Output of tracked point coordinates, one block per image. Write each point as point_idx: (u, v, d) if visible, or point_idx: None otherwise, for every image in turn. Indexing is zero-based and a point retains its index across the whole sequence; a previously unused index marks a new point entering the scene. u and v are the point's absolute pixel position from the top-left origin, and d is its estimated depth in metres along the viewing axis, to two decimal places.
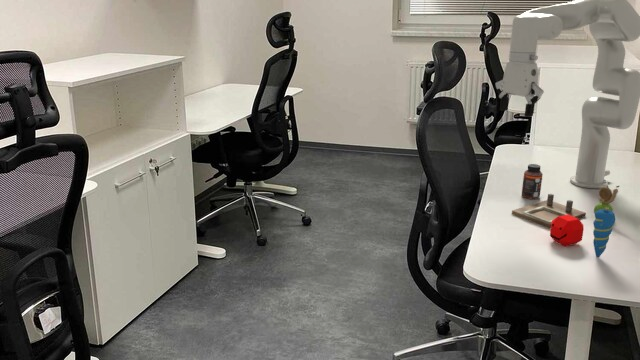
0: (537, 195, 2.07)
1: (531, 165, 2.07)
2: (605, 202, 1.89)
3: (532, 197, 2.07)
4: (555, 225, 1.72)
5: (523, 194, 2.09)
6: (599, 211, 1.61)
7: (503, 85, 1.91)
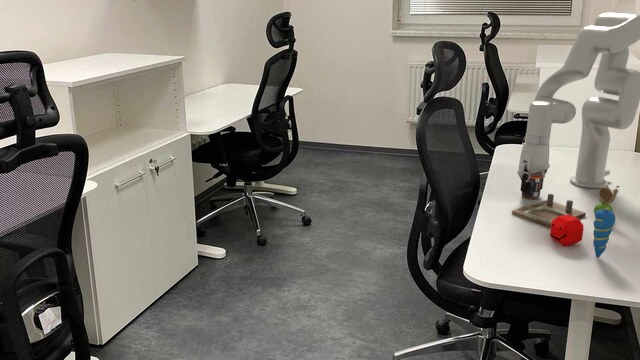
0: (537, 195, 2.07)
1: None
2: (605, 202, 1.89)
3: (532, 197, 2.07)
4: (555, 225, 1.72)
5: (523, 194, 2.09)
6: (599, 211, 1.61)
7: (531, 168, 2.03)
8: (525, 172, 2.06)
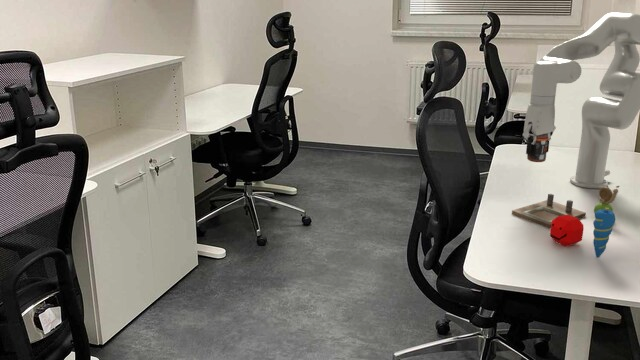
0: (543, 158, 2.04)
1: None
2: (605, 202, 1.89)
3: (538, 160, 2.03)
4: (555, 225, 1.72)
5: (529, 157, 2.05)
6: (599, 211, 1.61)
7: (536, 129, 1.99)
8: (530, 134, 2.02)
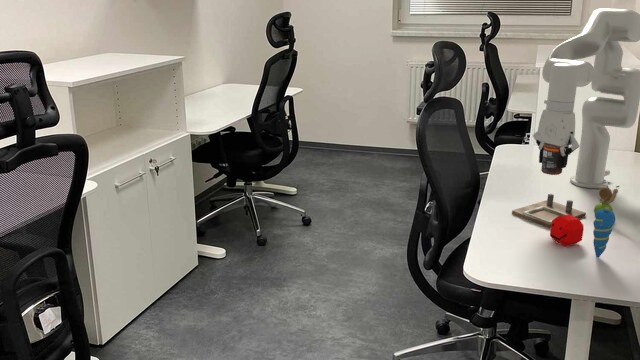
0: None
1: None
2: (605, 202, 1.89)
3: None
4: (555, 225, 1.72)
5: (557, 171, 1.84)
6: (599, 211, 1.61)
7: None
8: (565, 145, 1.81)
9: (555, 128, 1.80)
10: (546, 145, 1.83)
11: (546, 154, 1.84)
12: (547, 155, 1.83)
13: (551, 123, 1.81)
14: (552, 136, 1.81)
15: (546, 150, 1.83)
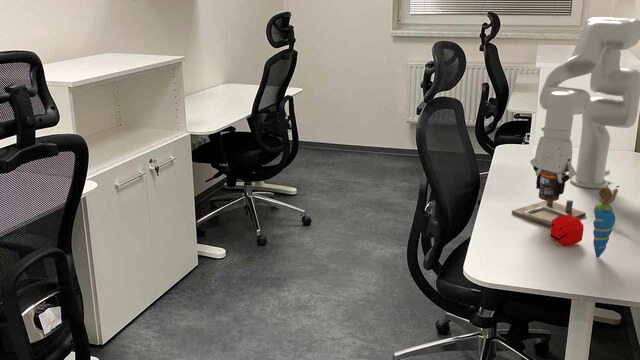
0: None
1: None
2: (605, 202, 1.89)
3: None
4: (555, 225, 1.72)
5: (555, 197, 1.86)
6: (599, 211, 1.61)
7: None
8: (562, 172, 1.83)
9: (552, 156, 1.82)
10: (543, 172, 1.85)
11: (543, 180, 1.85)
12: (544, 182, 1.85)
13: (548, 151, 1.82)
14: (549, 163, 1.83)
15: (543, 177, 1.85)
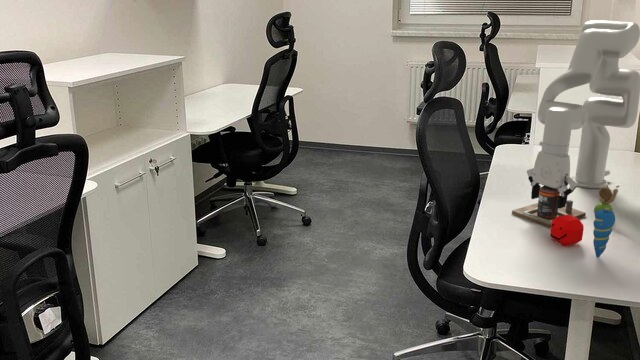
0: None
1: None
2: (605, 202, 1.89)
3: None
4: (555, 225, 1.72)
5: (553, 215, 1.88)
6: (599, 211, 1.61)
7: None
8: (562, 186, 1.83)
9: (550, 171, 1.83)
10: (541, 190, 1.87)
11: (541, 198, 1.87)
12: (542, 200, 1.87)
13: (546, 166, 1.84)
14: (547, 178, 1.84)
15: (541, 195, 1.87)
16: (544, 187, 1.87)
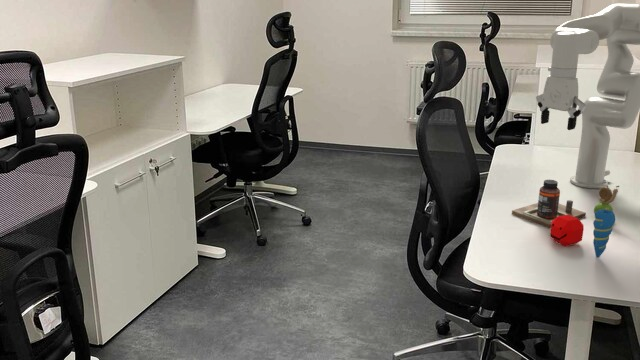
0: None
1: (552, 182, 1.86)
2: (605, 202, 1.89)
3: None
4: (555, 225, 1.72)
5: (553, 215, 1.88)
6: (599, 211, 1.61)
7: None
8: (571, 108, 1.91)
9: (559, 94, 1.91)
10: (541, 190, 1.87)
11: (541, 198, 1.87)
12: (542, 200, 1.87)
13: (555, 89, 1.91)
14: (557, 101, 1.92)
15: (541, 195, 1.87)
16: (544, 187, 1.87)
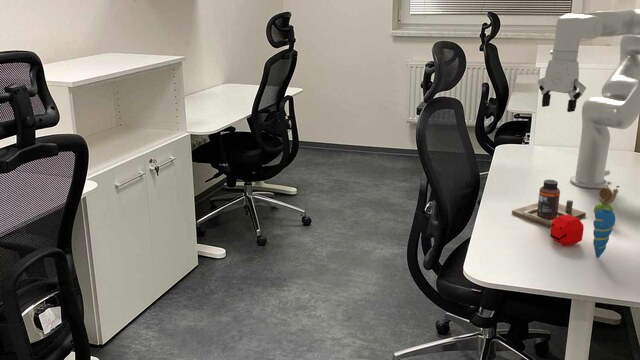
0: None
1: (552, 182, 1.86)
2: (605, 202, 1.89)
3: None
4: (555, 225, 1.72)
5: (553, 215, 1.88)
6: (599, 211, 1.61)
7: None
8: (572, 90, 1.96)
9: (560, 76, 1.96)
10: (542, 190, 1.87)
11: (541, 198, 1.87)
12: (542, 200, 1.87)
13: (556, 72, 1.97)
14: (558, 84, 1.98)
15: (541, 195, 1.87)
16: (544, 187, 1.87)
